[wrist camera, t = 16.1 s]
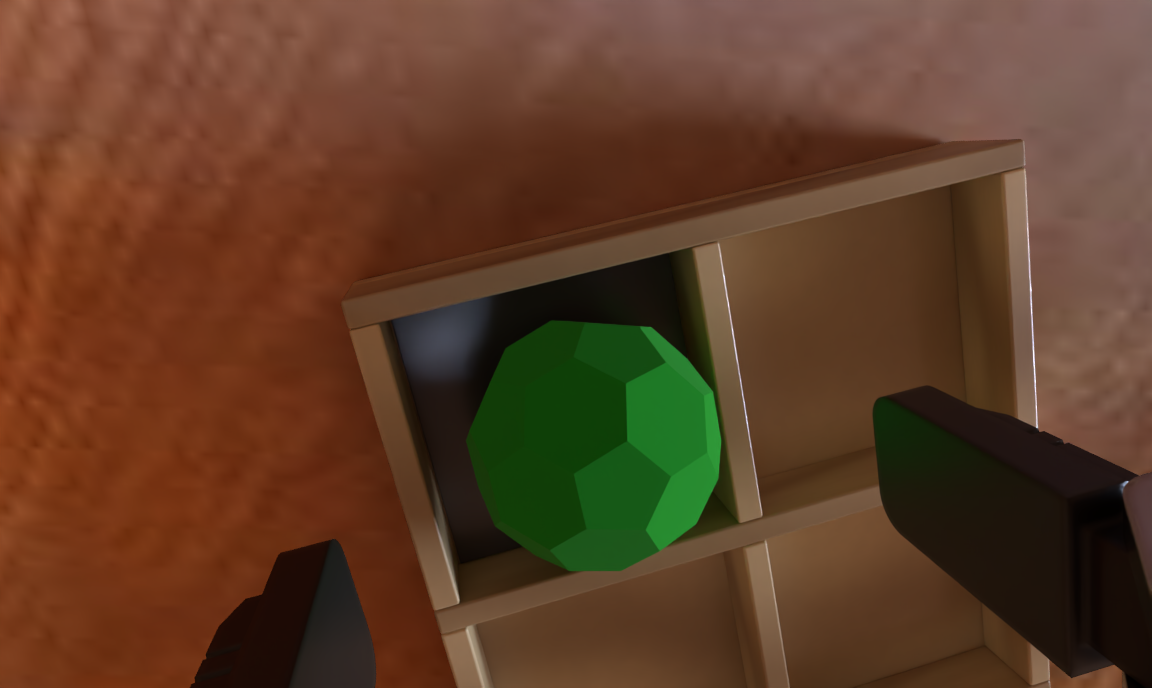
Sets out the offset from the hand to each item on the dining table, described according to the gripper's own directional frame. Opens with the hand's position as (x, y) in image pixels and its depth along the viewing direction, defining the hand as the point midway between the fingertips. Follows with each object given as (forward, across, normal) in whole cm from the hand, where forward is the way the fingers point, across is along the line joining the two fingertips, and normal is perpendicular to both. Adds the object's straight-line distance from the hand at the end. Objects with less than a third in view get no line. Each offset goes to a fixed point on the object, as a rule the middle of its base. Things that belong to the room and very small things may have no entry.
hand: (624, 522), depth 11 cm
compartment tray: (+7, -4, +8) cm, 11 cm away
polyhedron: (+7, 0, 0) cm, 7 cm away
